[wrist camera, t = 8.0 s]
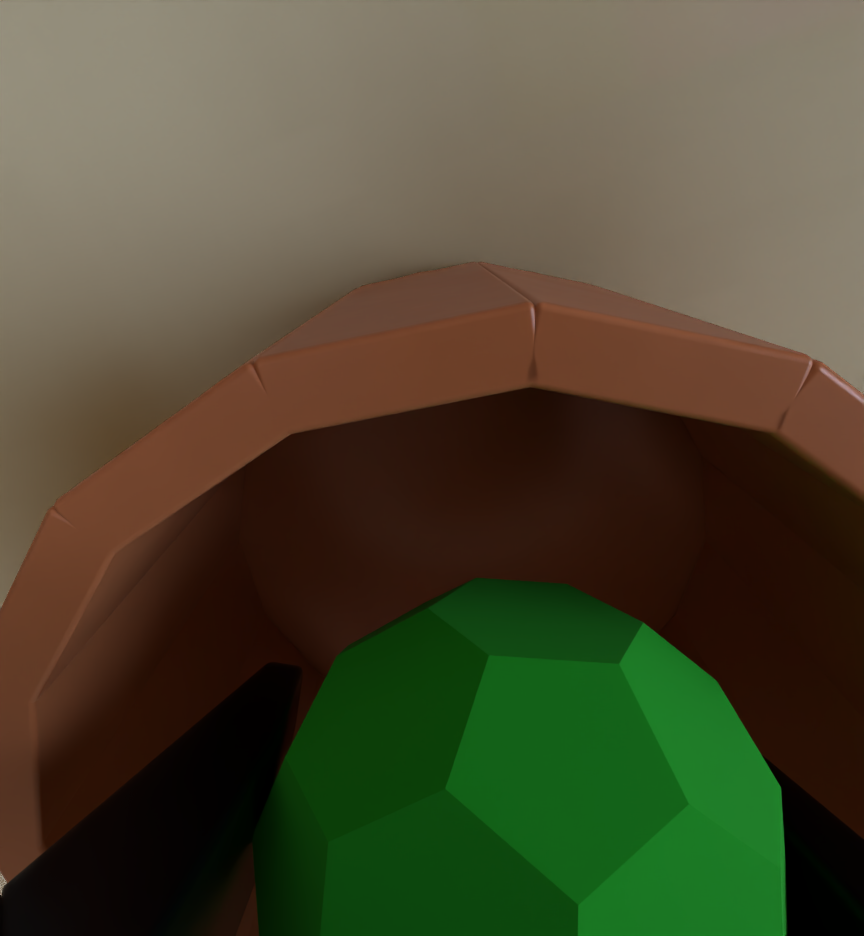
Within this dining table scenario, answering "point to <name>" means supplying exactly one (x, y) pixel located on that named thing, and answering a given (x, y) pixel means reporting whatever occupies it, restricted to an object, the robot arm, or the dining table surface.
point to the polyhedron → (520, 783)
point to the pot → (447, 526)
